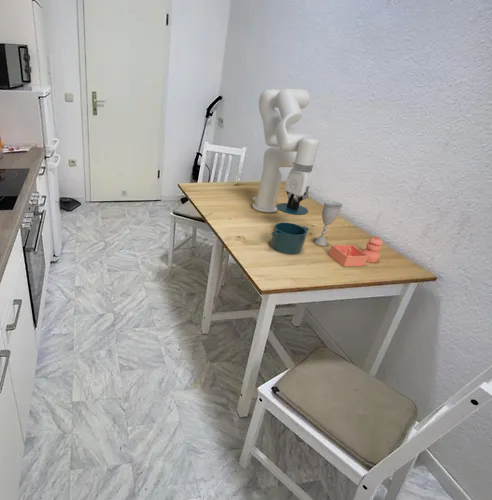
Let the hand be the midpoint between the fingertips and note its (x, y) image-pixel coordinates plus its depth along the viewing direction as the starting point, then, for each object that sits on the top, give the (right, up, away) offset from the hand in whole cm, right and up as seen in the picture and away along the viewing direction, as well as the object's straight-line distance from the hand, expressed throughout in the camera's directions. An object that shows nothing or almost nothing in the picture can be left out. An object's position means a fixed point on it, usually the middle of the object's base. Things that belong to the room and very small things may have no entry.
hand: (292, 208), depth 162 cm
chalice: (+10, -16, -6) cm, 19 cm away
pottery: (+18, -23, -18) cm, 34 cm away
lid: (0, -1, 0) cm, 1 cm away
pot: (-7, -18, -11) cm, 22 cm away
